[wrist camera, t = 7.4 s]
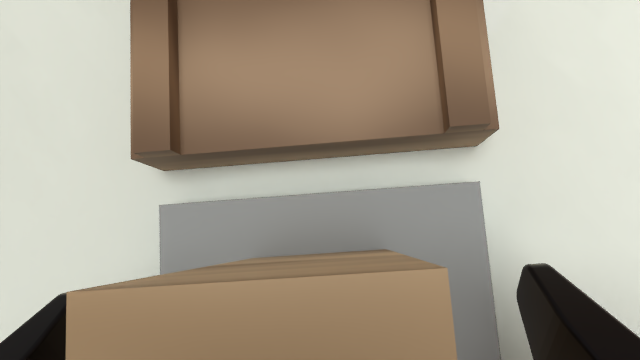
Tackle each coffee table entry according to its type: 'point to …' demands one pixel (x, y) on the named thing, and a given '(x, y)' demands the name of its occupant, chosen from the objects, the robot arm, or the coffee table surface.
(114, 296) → the oak mallet
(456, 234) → the grey rubber pad
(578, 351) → the robot arm
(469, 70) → the walnut shelf lane
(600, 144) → the coffee table surface
